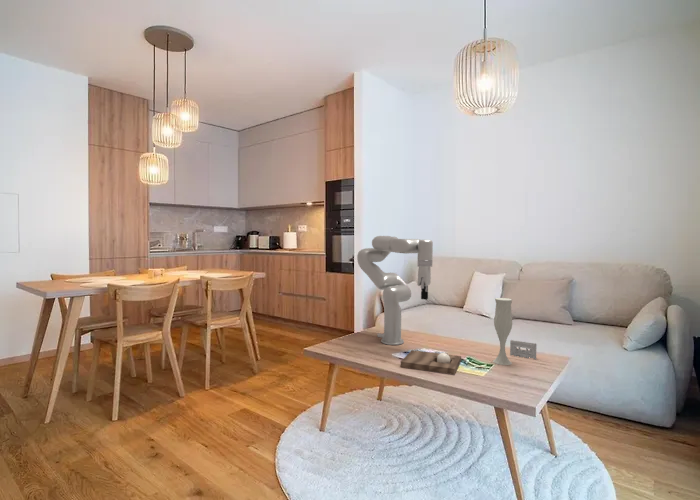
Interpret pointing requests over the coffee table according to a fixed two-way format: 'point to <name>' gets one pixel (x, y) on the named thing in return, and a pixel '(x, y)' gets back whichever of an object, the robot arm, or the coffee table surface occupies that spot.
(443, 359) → the ball
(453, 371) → the board
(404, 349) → the coffee table surface
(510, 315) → the vase
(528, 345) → the cassette
